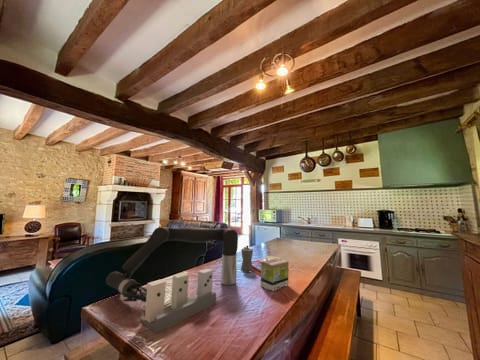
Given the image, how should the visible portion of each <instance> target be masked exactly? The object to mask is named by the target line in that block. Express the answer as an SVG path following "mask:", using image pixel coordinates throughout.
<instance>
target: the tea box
mask: <svg viewBox="0 0 480 360" xmlns="http://www.w3.org/2000/svg"><path fill="white" fill-rule="evenodd" d="M260 265H261V266H260V271H261V272H260V287H261V288H263V287H264V289H265V288H266V289H265V290H268V289H269V290H268V291H270V290H272V291H273V292H275V291H277V289H278V290H280V289H282V288H281V287H283V286H285V285H288V286H289V261H287V260H284V259H281V258H280V259H277V258H276V259H272V260H267V261H266V260H263V261H261V263H260ZM279 288H280V289H279ZM283 288H284V287H283ZM274 290H275V291H274ZM272 291H271V292H272Z"/></svg>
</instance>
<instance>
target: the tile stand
mask: <svg viewBox="0 0 480 360" xmlns="http://www.w3.org/2000/svg"><path fill="white" fill-rule="evenodd" d="M216 301H217V292H215V291H212V292H211V293H209V294H207V295H204V296H202V297H200V298H197V293H196V294H194V295H191V296H190V297H189V296H188V299H187V303H186V304H184V305H182V306H179V307H177V308H175V309H172V308H171V304H170V305H168V306H166V307H165V306H164V313H163V314H161V315H159V316H156V317H155V318H154V321H152V322H150V323H149V322H148V321H147V320H145V315H144V316H142V317H140V318H139V321H141V323H143V324H144V325H145V326H146V327H147V328H149V329H150V330H151V331H152V330H153V331H152V332H153V333H155V334H159V333H161V332H162V331H164V330H167V329H168V328H170V327H172V326H174V325H177V324H178V323H180V322H182V321H184V320H186V319H188V318H191V317H192V316H193V315H196V314H198V313H199V312H201V311H203V310H206V309H207V308H210V307H211V306H213V305H215V304H216V303H217V302H216ZM181 320H182V321H181ZM179 321H180V322H179ZM177 322H178V323H177Z"/></svg>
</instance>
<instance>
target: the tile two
mask: <svg viewBox="0 0 480 360" xmlns="http://www.w3.org/2000/svg"><path fill="white" fill-rule="evenodd" d="M189 275H190V274H188V273H186V272H182V273H181V272H180V273H177V274H174V275H172V285H171V301H170V305H171V308H172V309H175V308H177V307H179V306H182V305H184V304H186V303H187V299H188V298H189V296H188V295H189V294H188V293H189V277H190V276H189Z"/></svg>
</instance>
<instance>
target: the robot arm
mask: <svg viewBox="0 0 480 360" xmlns="http://www.w3.org/2000/svg"><path fill="white" fill-rule="evenodd" d="M238 235H239V234H238V233H237V231H236V230H235V229H233V228H229V227H226V228H209V227H208V228H207V227H180V228H175V227H167V226H158V227H157V228H155V229H153V232H152V233H151V235H150V237H148V239H147V240H146V241H145V243H144V244H143V245H142V246H141V247H140V248H139V249H138V250H137V251H136V252H134V253H133V254H132V255H131V257H129V258H128V259H127V261H126V262H124V264H122V267H121V269H122V270H123V272H124V274H123V273H121V272H119V271H112V272H110V273H109V274H108V275H107V277H106V278H105V279H106V280H105V283H106V285H107V286H109V287H111V288H114V289H115V290H116V291H117V292H119V293H120V295H122V297H123V298H122V302H137V301H141V302H144V303H146V297H147V288H146V287H143V286H142V284H141V283H140V282H138V281H136V280H135V279H132V278H131V277H132V275H134V273H135V271H136V270H138V269H139V267H140V266H141V265H142V264H143V263H144V262H145V260H146V259H147V258H148V257H149V256H150V255H151V253H152V252H154V250H155V249H156V248H157V247H159V246H161V244H163V243H164V242H171V241H174V242H175V241H178V242H184V243H193V244H194V243H195V244H197V243H198V244H199V243H200V244H202V243H207V242H208V243H210V242H214V241H217V242H219V241H220V242H223V245H222V246H223V248H222V250H221V251H222V253H221V275H220V276H221V279H220V280H221V281H220V283H221V284H222V285H224V286H233V285H236V284H237V253H238V252H237V251H238V246H239V245H238V244H239V243H238V242H239V236H238Z"/></svg>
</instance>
